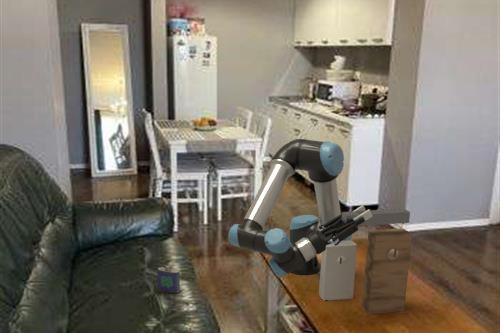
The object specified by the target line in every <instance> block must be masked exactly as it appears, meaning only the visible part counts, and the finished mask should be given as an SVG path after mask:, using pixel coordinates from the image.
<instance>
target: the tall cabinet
mask: <svg viewBox="0 0 500 333" xmlns="http://www.w3.org/2000/svg"><path fill="white" fill-rule="evenodd" d="M412 239H413V234H412V233H411V232H410V231H409V230H406V229H405V228H404V227H403V228H389V229H388V228H387V229H386V228H385V229H372V230H371V229H370V230H368V229H367V241H366V242H367V243H366V252H365V254H366V255H365V263H364V265H365V266H364V278H363V288H362V298H361V299H362V300H361V301H362V302H361V307H362V308H363V309H364V310H365V311H366V312H367V314H368V315H373V314H375V315H376V314H384V313H385V314H386V313H396V312H405V306H406V304H405V303H406V296H407V288H408V287H407V284H408V276H409V269H410V268H409V267H410V260H411V259H410V258H411V249H412Z"/></svg>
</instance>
